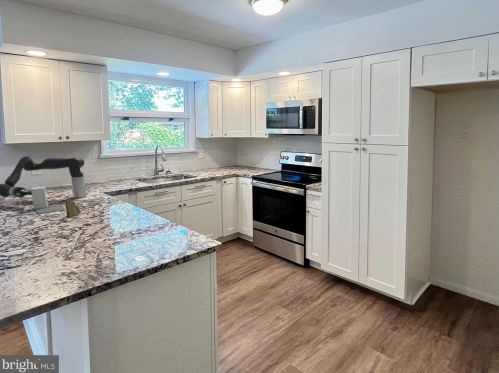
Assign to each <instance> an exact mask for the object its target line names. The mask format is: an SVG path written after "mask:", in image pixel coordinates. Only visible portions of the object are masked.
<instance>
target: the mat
mask: <svg viewBox="0 0 499 373" xmlns="http://www.w3.org/2000/svg"><path fill="white" fill-rule="evenodd" d="M65 210H66V209H65V208H63V207H62V206H60V205H57V206H50V207H47V208H39V209H34V212H36V213H37V214H38V215H41V214H47V213H48V214H49V213H54V212H61V211H65Z"/></svg>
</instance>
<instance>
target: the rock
mask: <svg viewBox="0 0 499 373" xmlns="http://www.w3.org/2000/svg"><path fill="white" fill-rule="evenodd" d="M64 203H65V208H66V209H65V210H66V216H67V217H68V218H71V217H74V216H77V215H79V214H81V210H80V207H79V206H77V204H76V202H75V201H71V200H66V201H65V202H64Z"/></svg>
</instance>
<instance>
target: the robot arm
mask: <svg viewBox="0 0 499 373" xmlns="http://www.w3.org/2000/svg"><path fill="white" fill-rule="evenodd" d="M84 166H85V160H84V159H83V158H81V157H79V156H76V157H71V158H69V157H68V158H63V157H62V158H61V157H60V158H59V157H50V158H49V157H48V158H45V159H44V160H42V162H38V163H37V162H34V160H33V159H32V157H31V156H27V155H26V156H22V157H21V158H20V159H19V161H18V162H17V163H16V165H15V167H14V169H13V171H12V172H11V173H10V175H9V176H8V177H7V178H6V179H5V180H4V183H0V195H1V197H3V198H8V197H15V198H23V197H25V196H32V192H31V190H29V189H26V188H25V187H22V186H16V184H17V183H18V182H19V181H20V179H21V176H22V172H23V170H24V171H28V172H32V171H39V170H59V169H66V168H68V171H69V174H70V176H71V178H70V179H71V188H72V189H71V190H72V197H73V198H74V199H81V198H85V197H86V198H87V190H86V184H85V177H84V173H83V172H82V171H81V168H83V167H84Z"/></svg>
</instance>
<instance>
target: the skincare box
mask: <svg viewBox="0 0 499 373" xmlns="http://www.w3.org/2000/svg"><path fill="white" fill-rule="evenodd" d="M30 191H31V192H32V195H31V197H32V203H33V207H34V210H35V209H42V208H49V207H48V206H49V204H48V199H47V192H46V187H45V186H40V187H32V188H31V189H30Z"/></svg>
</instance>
